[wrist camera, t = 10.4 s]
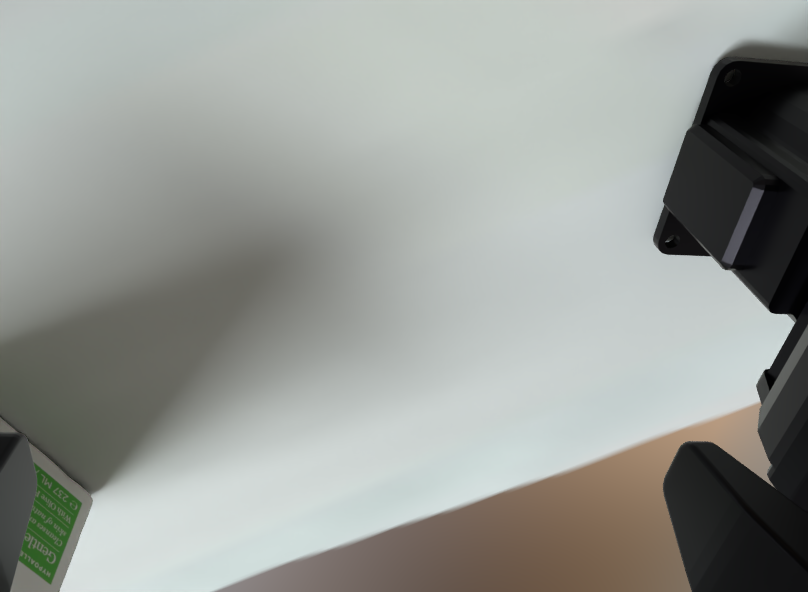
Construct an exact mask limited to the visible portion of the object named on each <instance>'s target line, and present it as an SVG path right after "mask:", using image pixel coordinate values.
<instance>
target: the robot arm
mask: <svg viewBox="0 0 808 592" xmlns="http://www.w3.org/2000/svg"><path fill="white" fill-rule="evenodd" d="M734 69H735V73H734V76H733V78H732V79H731V80H729V81H728V82H724V80H725V76H726V75H727V73H728V72H730V71H731V70H734ZM663 202H664V204H665V205H664V208H663V210H662V213H661V216H660V219H659V222H658V225H657V228H656V230H655V233H654V237H653V241H654V244H655V246H656V247H657V248H658V249H659V251H661V252H662V253H663V254H668V255H693V256H712V257H713V259H714V260H715V261H716V262H717V263H718V264H719V265H720V266H721V267H722V268H723V269H725V270H731V271H732V272H733V273H734V274H735V275H736V276H737V277H738V278H739V279H740V280H741V281H742V282H743V284H744V285H745V286H746V287H747V288H748V289H749V290H750V291H751V292H752V293H753V294H754V295H755V296H756V297H757V298H758V300H759V301H760V302H761V303H762V304H763V305H764V306H765V307H766V308H767V309H768V310H769V311H770V312H771V313H774V314H787V315H788V316H789V317H790V318H791V319H792V320H793V321H794V322H795V324H794V326H793V328H792V330H791V332H790V333H789V335H788V337H787V339H786V341H785V342H784V344H783V346H782V348H781V350H780V351H779V353H778V355H777V357H776V359H775V360H774V362H773V364H772V366H771V367H770V369H766V370H765V371H764V372H763V374H762V375H761V377H760V379H759V381H758V383H757V385H756V387H757V391H758V394H759V397H760V401H761V404H762V406H761V408H760V412H759V423H758V433H759V436H760V439H761V441H762V444H763V446H764V449H765V452H766V454H767V457H768V459H769V461H770V463H771V466H770V467H769V469H768V473H767V475H768V478H769V480H770V481H771V483H772V484H773V486H774V487H775V488H776V489H777V490H776V489H775V488H774V487H772V486H771V485H770V484H768V483H767V482H766V481H764V480H763V479H762V478H760V477H759V476H758V475H756V474H755V473H754V472H752V471H751V470H750V469H748V468H747V467H746V466H744V465H743V464H741V463H740V462H739V461H737V460H736V459H735V458H733V457H732V456H731V455H729V454H728V453H727V452H725V451H724V450H723V449H721V448H720V447H719V446H717V445H715V444H714V443H711V442H698V441H696V442H695V441H694V442H693V441H692V442H691V441H688V442H685V443H683V445H681V446H680V448H679V449H678V452H677V453H676V455H675V457H674V459H673V462H672V464H671V466H670V468H669V470H668V472H667V474H666V476H665V478H664V483H663V492H664V497H665V501H666V504H667V508H668V511H669V515H670V518H671V522H672V525H673V528H674V532H675V535H676V539H677V543H678V546H679V549H680V553H681V557H682V560H683V564H684V567H685V571H686V574H687V577H688V581H689V584H690V587H691V590H692V592H808V63H799V62H787V61H776V60H764V59H752V58H741V57H727V58H724V59H722V60H720V61H719V62H718V63H717V64H716V65H715V66H714V68H713V69H712V71H711V73H710V76H709V79H708V82H707V85H706V88H705V91H704V93H703V96H702V99H701V102H700V105H699V108H698V111H697V113H696V116H695V119H694V122H693V125H692V127H691V128H690V129H689V130H688V131H687V132H686V135H685V138H684V141H683V144H682V147H681V150H680V152H679V155H678V158H677V161H676V164H675V167H674V170H673V173H672V175H671V178H670V181H669V184H668V187H667V190H666V193H665V196H664V198H663ZM672 235H675V236H674V238H673V239H672V240H671V241H669V242H665V241H666V240H667V238H668V237H670V236H672ZM36 491H37V474H36V470H35V466H34V462H33V458H32V454H31V450H30V446H29V441H28V439H27V437H26V436H25V435H24V434H23V433H20V432H0V592H10V591H11V587H12V583H13V579H14V576H15V572H16V568H17V564H18V560H19V557H20V553H21V549H22V545H23V541H24V538H25V534H26V530H27V526H28V523H29V519H30V515H31V511H32V507H33V504H34V500H35V496H36Z"/></svg>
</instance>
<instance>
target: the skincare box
mask: <svg viewBox="0 0 808 592" xmlns="http://www.w3.org/2000/svg"><path fill="white" fill-rule="evenodd" d="M0 432H17V431H16V430H14V429H13V428H12V427H11V426H10V425H9V424H7V423H6V422H5V421H4V420H3V419H2V418H0ZM29 446H30V450H31V454H32V458H33V462H34V466H35V470H36V474H37V491H36V496H35V500H34V504H33V507H32V511H31V515H30V519H29V523H28V526H27V530H26V534H25V538H24V541H23V545H22V549H21V553H20V557H19V560H18V564H17V568H16V572H15V576H14V579H13V583H12V587H11V591H10V592H59V591H60V588H61V585H62V582H63V580H64V578H65V575H66V572H67V570H68V567H69V564H70V562H71V559H72V556H73V554H74V551H75V549H76V546H77V543H78V540H79V537H80V534H81V532H82V529H83V527H84V524H85V522H86V519H87V517H88V514H89V511H90V509H91V506H92V502H93V500H92V497H91V495H90V494H89V493H88V492H87V491H86V490H85V489H84V488H82V487H81V486H80V485H79V484H77V483H76V482H75V481H73V480H72V479H71V478H69V477H68V476H67V475H66V474H65V473H64V472H63V471H62V470H61V469H60V468H59V467H58V466H57V465H55V464H54V463H53V462H52V461H51V460H50V459H49V458H48V457H46V456H45V455H44V454H43V453H42V452H41V451H39V450H38V449H37V448H36V447H34V446H33V445H32V444H31V443H30V442H29Z"/></svg>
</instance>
